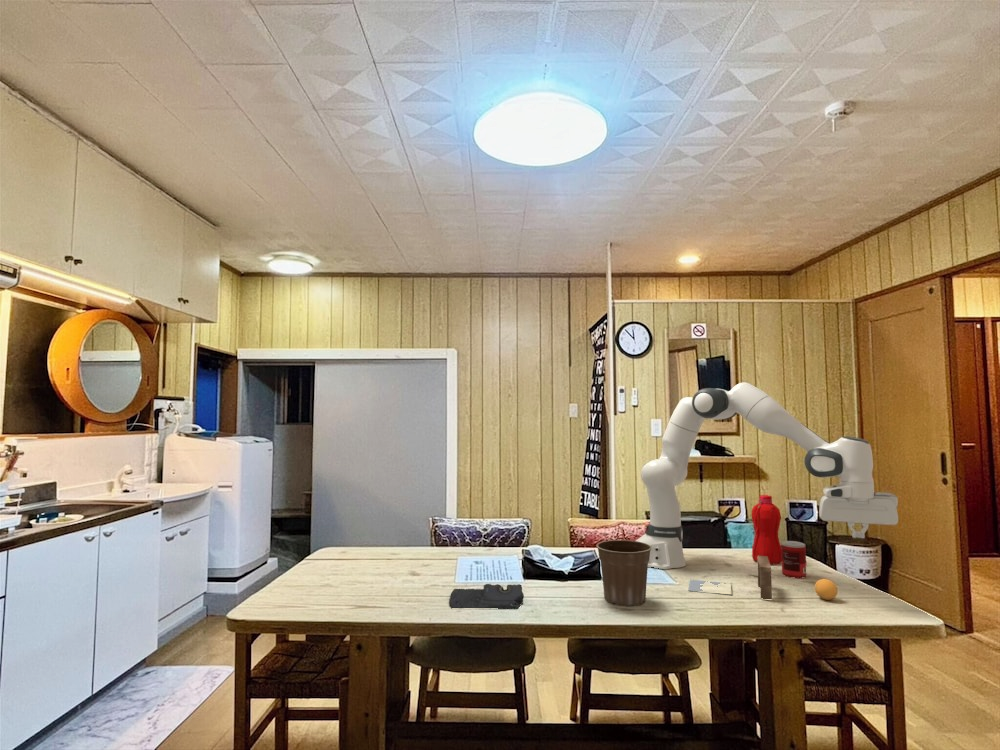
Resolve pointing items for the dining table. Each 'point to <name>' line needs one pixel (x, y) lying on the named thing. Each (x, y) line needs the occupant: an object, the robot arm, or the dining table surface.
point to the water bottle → (766, 530)
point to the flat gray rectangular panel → (695, 585)
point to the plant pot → (624, 571)
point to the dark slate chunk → (488, 597)
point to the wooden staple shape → (764, 577)
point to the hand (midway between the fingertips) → (858, 537)
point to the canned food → (793, 559)
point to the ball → (826, 589)
